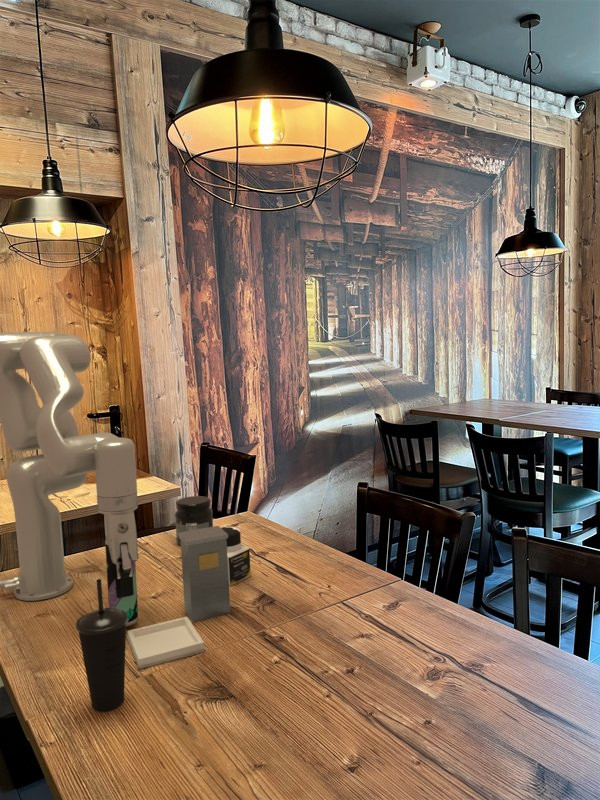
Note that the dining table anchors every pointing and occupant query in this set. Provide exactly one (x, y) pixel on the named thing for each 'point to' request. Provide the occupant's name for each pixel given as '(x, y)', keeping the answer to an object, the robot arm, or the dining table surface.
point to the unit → (205, 573)
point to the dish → (164, 642)
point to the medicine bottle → (236, 556)
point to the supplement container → (192, 514)
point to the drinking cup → (104, 654)
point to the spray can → (123, 603)
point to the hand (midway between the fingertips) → (122, 589)
